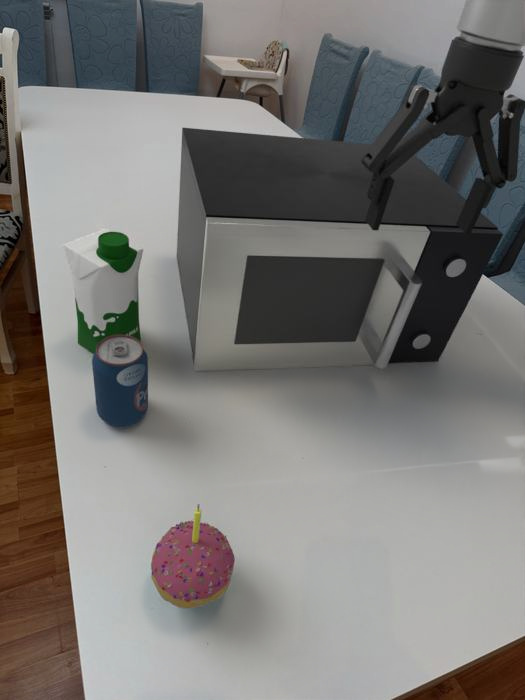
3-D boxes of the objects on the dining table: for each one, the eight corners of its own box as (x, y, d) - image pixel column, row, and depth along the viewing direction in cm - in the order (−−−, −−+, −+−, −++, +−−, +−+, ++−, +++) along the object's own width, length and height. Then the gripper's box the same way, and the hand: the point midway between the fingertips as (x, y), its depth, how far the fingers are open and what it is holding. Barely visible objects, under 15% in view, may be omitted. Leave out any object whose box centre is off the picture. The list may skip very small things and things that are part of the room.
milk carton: (107, 370, 76) (99, 256, 63) (68, 343, 79) (53, 229, 66) (149, 344, 82) (149, 235, 69) (111, 319, 85) (104, 211, 72)
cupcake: (153, 545, 56) (154, 484, 49) (227, 543, 58) (240, 484, 50) (148, 626, 50) (148, 571, 42) (232, 621, 51) (247, 567, 44)
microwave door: (389, 389, 82) (451, 253, 66) (199, 399, 74) (214, 247, 58) (373, 358, 88) (425, 226, 71) (193, 364, 80) (206, 216, 63)
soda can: (150, 428, 69) (151, 365, 61) (98, 434, 67) (91, 370, 59) (145, 392, 74) (144, 329, 66) (96, 397, 72) (89, 333, 64)
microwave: (439, 365, 89) (507, 235, 73) (195, 374, 78) (208, 223, 61) (368, 261, 115) (406, 147, 98) (176, 256, 104) (182, 127, 87)
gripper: (563, 48, 58) (484, 217, 71) (367, 18, 51) (321, 209, 65) (610, 64, 52) (514, 244, 66) (397, 32, 46) (339, 238, 59)
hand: (418, 227), depth 65 cm, fingers open, 13 cm apart
